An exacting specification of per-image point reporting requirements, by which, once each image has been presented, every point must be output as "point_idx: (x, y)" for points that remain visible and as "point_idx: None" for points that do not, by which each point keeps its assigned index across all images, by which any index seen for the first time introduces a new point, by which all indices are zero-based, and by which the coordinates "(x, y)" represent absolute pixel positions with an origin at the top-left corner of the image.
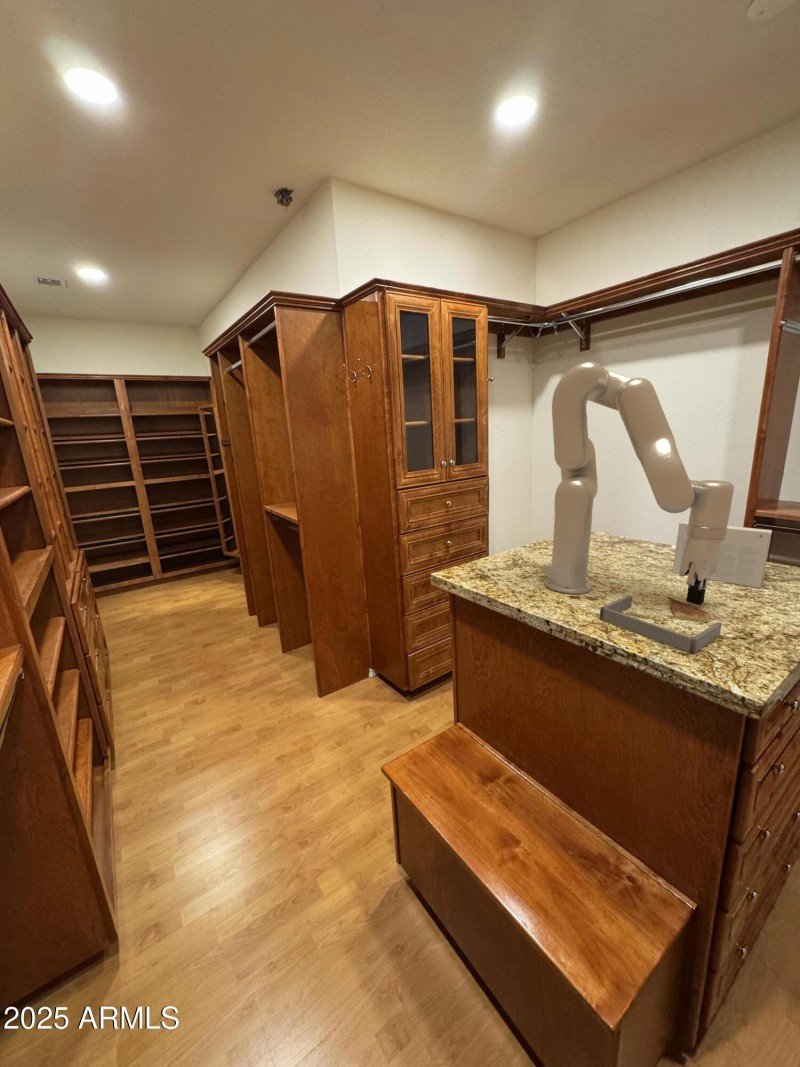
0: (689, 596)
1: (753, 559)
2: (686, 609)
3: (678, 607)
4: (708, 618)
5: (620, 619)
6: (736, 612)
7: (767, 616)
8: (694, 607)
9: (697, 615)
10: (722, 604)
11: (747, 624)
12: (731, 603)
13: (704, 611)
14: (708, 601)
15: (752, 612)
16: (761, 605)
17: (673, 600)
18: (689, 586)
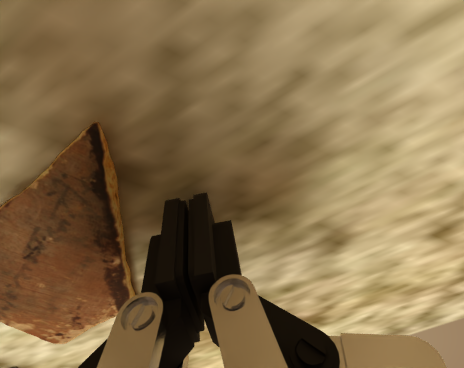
0: (148, 250)
1: None
2: (37, 277)
3: (14, 247)
4: (64, 343)
5: None
6: (285, 297)
7: (331, 331)
8: (116, 268)
9: (31, 326)
10: (335, 242)
11: (205, 347)
12: (378, 248)
13: (124, 300)
14: (326, 202)
15: (332, 308)
16: (433, 286)
17: (86, 164)
18: (122, 321)
